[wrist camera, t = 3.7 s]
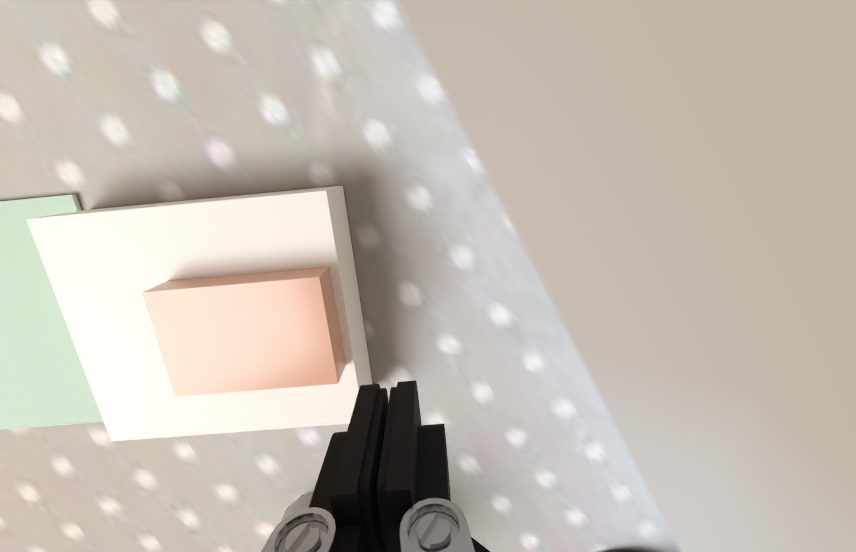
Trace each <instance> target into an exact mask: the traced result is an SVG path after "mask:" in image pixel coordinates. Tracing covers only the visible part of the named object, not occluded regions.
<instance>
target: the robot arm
mask: <svg viewBox="0 0 856 552" xmlns="http://www.w3.org/2000/svg"><path fill="white" fill-rule="evenodd" d="M261 552H490V551H489V550H487V549H486V548H485V547H483V546H482V545H481V544H480V543H478V542H477V541H476V540H474V539H473V538H472V537H471V536H470V532H469V529H468V525H467V521H466V518H465V516H464V514H463V512H462V510H461V509H460V508H459V507H458V506H457V505H456V504H454V503H452V502H451V499H450V485H449V471H448V459H447V448H446V437H445V427H444V424H436V425H423V426H422V425H421V417H420V408H419V400H418V391H417V383H416V381H405V382H398V384H397V387H392V388H391V391H390V398H389V402H388V395H387V390H386V388H380V385H379V384H369V385H361V386H360V388H359V391H358V395H357V398H356V402H355V405H354V409H353V413H352V416H351V420H350V423H349V427H348V431H347V432H337V433H334V434H333V435H332V438H331V440H330V443H329V446H328V450H327V453H326V456H325V459H324V462H323V465H322V468H321V471H320V474H319V477H318V480H317V483H316V486H315V489H314V492H313V495H312V498H311V501H310V505H309V508H304V509H302V510H299V511H296V512H294V513H292V514H291V515H289V516H287V517H286V518H285V519H284V520H282V521H281V522H280V523H279V524H278V525H277V526H276V528H275V529H274V531H273V532H272V533H271V535H270V537H269V539H268V540H267V542H266V544H265V546H264V548H263V549H262V551H261Z"/></svg>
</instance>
